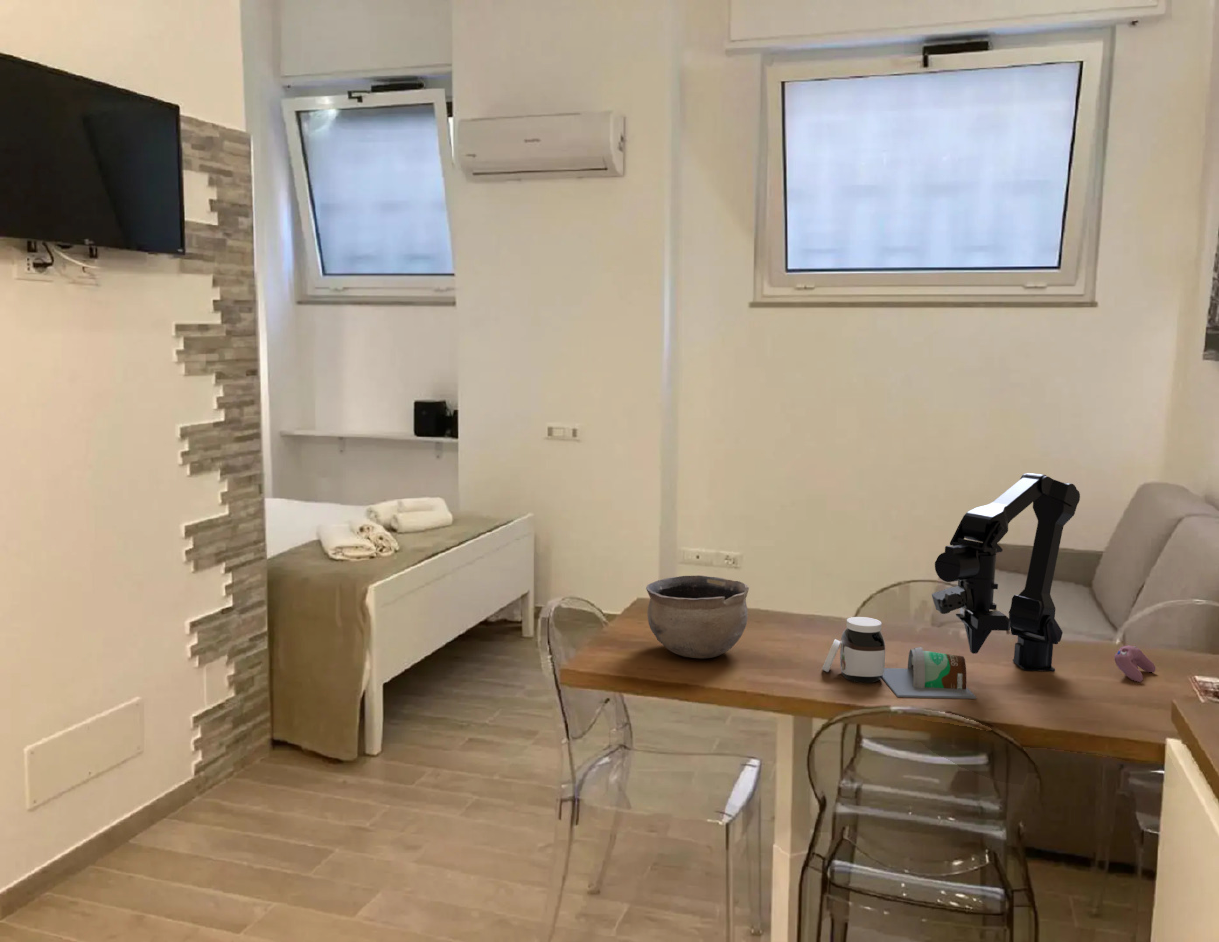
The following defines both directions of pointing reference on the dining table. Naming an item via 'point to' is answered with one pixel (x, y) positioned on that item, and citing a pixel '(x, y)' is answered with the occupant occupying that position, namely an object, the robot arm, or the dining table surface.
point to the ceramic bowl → (697, 614)
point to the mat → (903, 687)
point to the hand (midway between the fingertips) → (973, 652)
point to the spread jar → (860, 651)
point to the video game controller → (1133, 662)
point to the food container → (937, 669)
